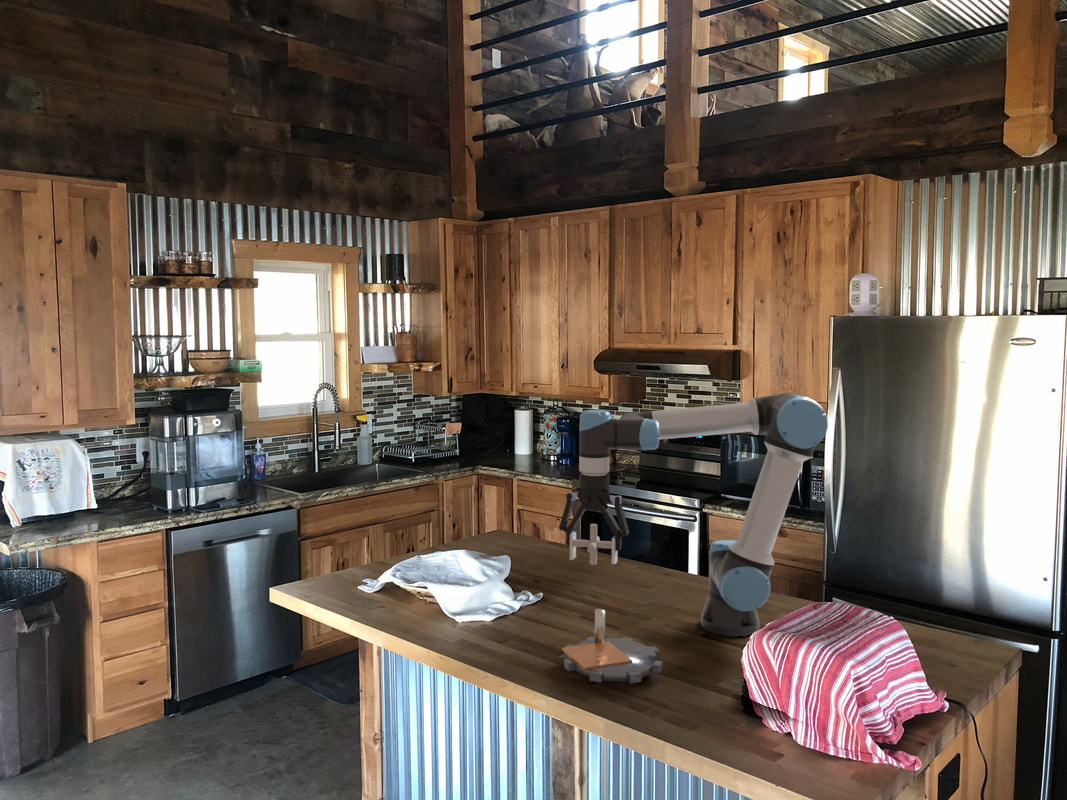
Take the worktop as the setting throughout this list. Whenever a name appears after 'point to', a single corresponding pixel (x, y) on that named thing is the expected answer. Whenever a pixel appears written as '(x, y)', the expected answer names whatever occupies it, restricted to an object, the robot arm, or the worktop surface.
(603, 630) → the sprocket
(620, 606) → the worktop surface
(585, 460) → the robot arm
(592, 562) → the pipe connector
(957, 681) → the worktop surface
